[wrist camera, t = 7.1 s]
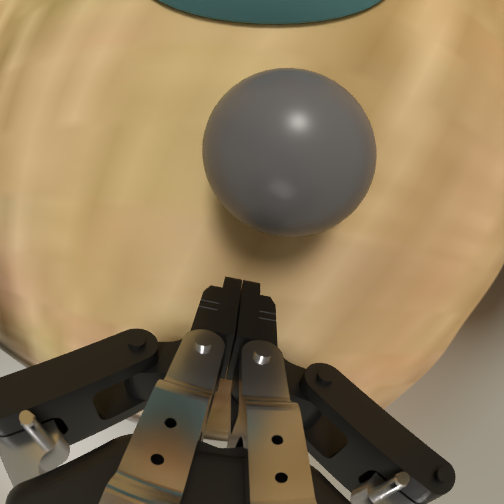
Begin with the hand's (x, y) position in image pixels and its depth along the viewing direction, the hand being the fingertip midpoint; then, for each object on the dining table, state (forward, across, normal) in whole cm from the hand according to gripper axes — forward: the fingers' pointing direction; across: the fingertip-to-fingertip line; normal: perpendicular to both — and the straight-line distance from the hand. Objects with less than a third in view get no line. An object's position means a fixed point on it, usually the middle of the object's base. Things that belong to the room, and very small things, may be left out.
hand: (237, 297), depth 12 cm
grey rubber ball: (-1, -1, -6) cm, 6 cm away
